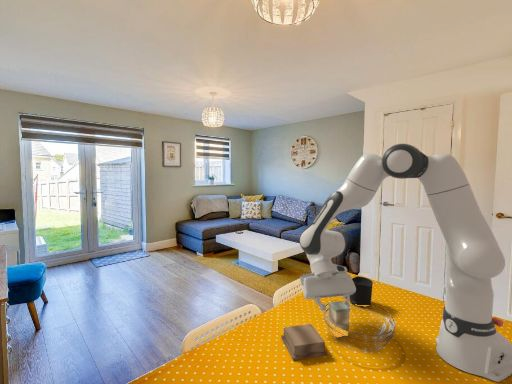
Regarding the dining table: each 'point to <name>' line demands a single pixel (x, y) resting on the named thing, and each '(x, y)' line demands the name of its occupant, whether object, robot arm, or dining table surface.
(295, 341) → the plinth
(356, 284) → the pen holder
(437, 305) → the dining table surface
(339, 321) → the grey rectangular block
